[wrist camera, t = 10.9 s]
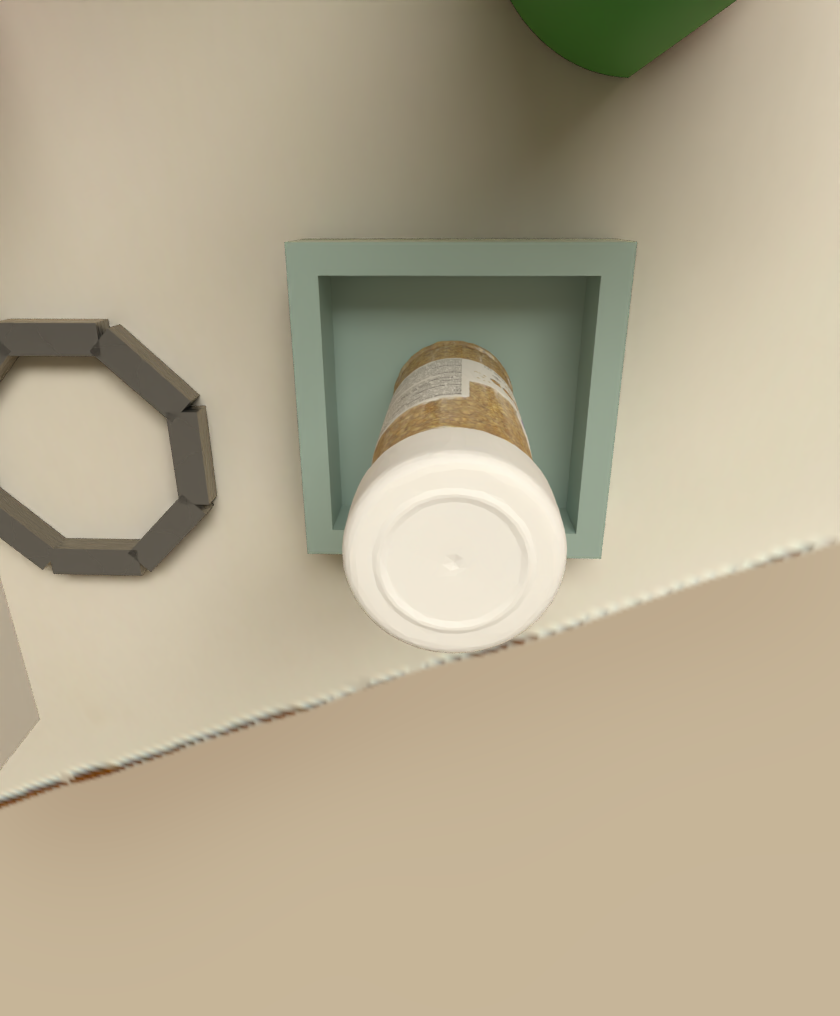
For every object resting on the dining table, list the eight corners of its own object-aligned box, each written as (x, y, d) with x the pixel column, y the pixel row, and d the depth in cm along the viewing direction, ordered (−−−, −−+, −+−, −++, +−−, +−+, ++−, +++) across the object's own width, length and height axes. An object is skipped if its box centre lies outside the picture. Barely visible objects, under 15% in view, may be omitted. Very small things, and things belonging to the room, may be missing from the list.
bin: (321, 521, 29) (307, 553, 26) (303, 238, 24) (284, 242, 22) (586, 525, 28) (600, 558, 26) (615, 238, 24) (636, 241, 21)
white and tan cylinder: (528, 431, 26) (599, 624, 14) (417, 471, 27) (391, 687, 15) (488, 316, 25) (528, 419, 12) (371, 362, 25) (299, 503, 13)
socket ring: (-8, 561, 30) (-23, 572, 29) (-76, 318, 26) (-95, 322, 25) (226, 565, 30) (218, 576, 29) (194, 319, 26) (185, 323, 25)
